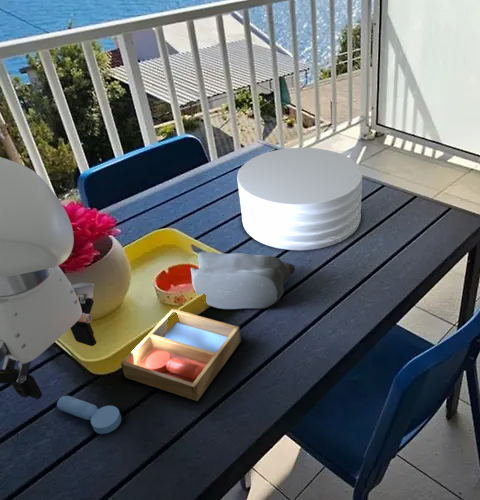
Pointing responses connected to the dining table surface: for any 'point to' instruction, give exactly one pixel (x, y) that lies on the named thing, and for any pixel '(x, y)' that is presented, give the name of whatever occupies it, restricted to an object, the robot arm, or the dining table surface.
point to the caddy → (184, 352)
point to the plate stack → (300, 198)
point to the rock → (240, 279)
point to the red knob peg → (172, 365)
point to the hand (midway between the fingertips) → (60, 367)
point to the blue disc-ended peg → (92, 413)
